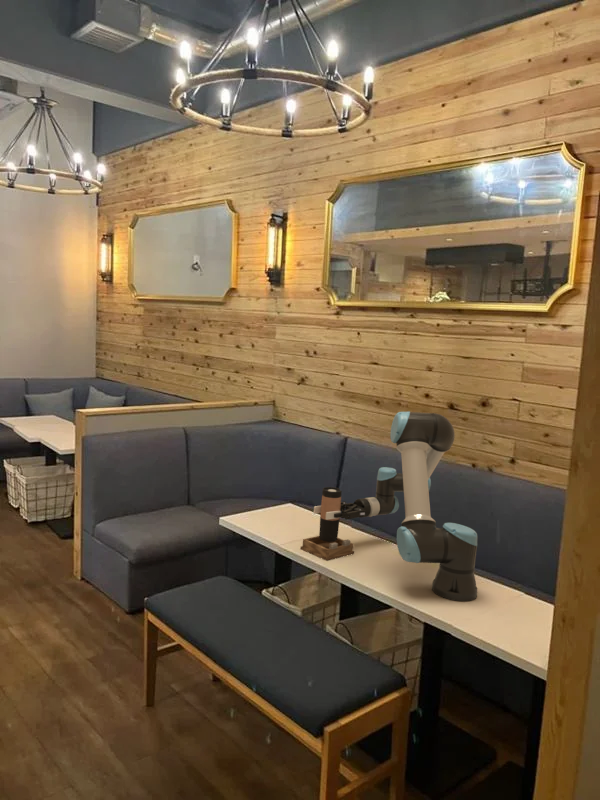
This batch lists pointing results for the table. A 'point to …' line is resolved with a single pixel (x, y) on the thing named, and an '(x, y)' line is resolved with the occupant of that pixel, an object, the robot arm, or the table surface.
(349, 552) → the tray
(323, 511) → the travel mug
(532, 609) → the table surface
